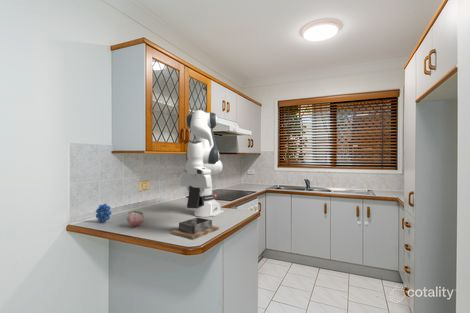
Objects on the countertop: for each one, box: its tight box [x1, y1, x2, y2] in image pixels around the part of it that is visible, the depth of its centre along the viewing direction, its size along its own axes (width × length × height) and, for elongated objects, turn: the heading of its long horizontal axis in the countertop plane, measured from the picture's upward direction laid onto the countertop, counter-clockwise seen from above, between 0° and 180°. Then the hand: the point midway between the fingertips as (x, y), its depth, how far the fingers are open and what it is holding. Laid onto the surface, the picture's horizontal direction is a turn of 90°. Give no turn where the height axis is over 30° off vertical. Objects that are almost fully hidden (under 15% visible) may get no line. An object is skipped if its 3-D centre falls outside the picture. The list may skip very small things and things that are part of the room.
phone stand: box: [186, 186, 204, 209], centre depth 133 cm, size 9×6×12 cm, turn 161°
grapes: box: [95, 203, 112, 223], centre depth 152 cm, size 12×7×12 cm, turn 73°
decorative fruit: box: [126, 209, 145, 228], centre depth 143 cm, size 9×8×10 cm
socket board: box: [171, 216, 220, 241], centre depth 133 cm, size 20×16×6 cm
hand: (195, 195), depth 133 cm, fingers closed on phone stand, 6 cm apart
